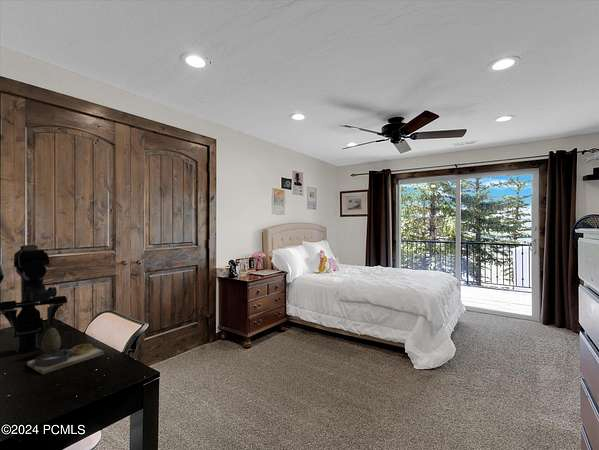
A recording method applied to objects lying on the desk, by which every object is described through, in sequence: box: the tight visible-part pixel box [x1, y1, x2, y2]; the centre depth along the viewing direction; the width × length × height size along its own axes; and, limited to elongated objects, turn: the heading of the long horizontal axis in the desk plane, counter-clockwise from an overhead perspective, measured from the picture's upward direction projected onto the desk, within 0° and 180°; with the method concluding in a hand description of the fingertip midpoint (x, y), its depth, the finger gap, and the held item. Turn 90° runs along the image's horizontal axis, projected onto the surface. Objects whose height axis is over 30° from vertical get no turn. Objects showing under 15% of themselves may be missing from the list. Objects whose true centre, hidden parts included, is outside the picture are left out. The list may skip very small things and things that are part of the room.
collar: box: [34, 348, 72, 367], centre depth 108 cm, size 10×10×2 cm
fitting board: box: [26, 346, 105, 375], centre depth 111 cm, size 13×19×1 cm
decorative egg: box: [40, 327, 62, 354], centre depth 116 cm, size 6×6×10 cm
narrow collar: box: [71, 342, 94, 355], centre depth 116 cm, size 6×6×2 cm
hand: (33, 328), depth 105 cm, fingers open, 9 cm apart
